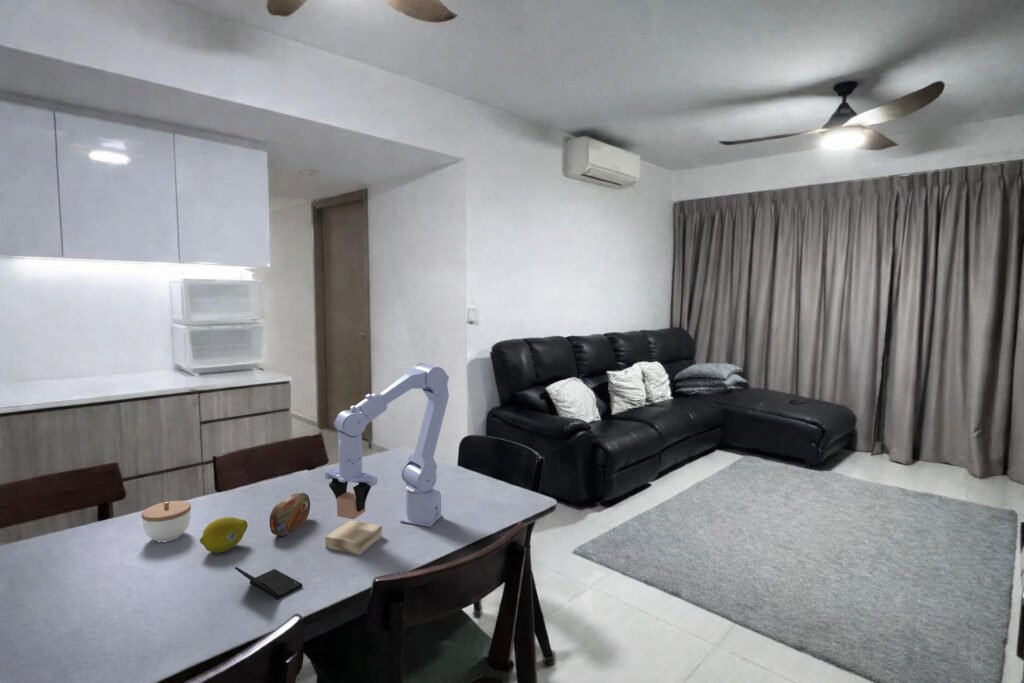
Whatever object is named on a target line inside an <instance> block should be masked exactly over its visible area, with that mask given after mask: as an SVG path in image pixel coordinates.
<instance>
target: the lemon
mask: <svg viewBox="0 0 1024 683" xmlns="http://www.w3.org/2000/svg"><path fill="white" fill-rule="evenodd" d="M247 529H248V522H247V520H245V519H240V518H238V517H234V516H226V517H221V518H217V519H215V520H213V521H211V522H210V523H208V524H207V526H205V528H204V530H203V533H202V536H201V537H200V539H199V543H200V544H201V545H202V546H203V547H204V548H205V550H206V551H208V552H210V553H216V554H217V553H220V554H221V553H224V552H228V551H229V550H231V549H233V548H234V547H235V546H237V545H238V544H239V543H240V541H241V540H242V539H243V537H244V534H245V533H246V531H247Z"/></svg>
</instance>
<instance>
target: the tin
mask: <svg viewBox="0 0 1024 683" xmlns="http://www.w3.org/2000/svg"><path fill="white" fill-rule="evenodd" d="M310 511H311V500H310V496H309V495H308V494H307V493H306V492H301V493H299V492H296V493H295V492H294V493H292V494H291V495H290V496H287V498H285V499H284V500H282V501H280V502H279V503H277V504H276V505H275V506H274V507H273V508H272V510H271V512H270V515H269V529H270V532H271V533H272V534H273V535H274V536H281V537H286V536H288V535H290V534H291V533H292V532H294V531H295V530H296V529H298V528H299V527H300V526H301V525H302V524H304V523H305V522H306V520H307V519H308V518H309V517H308V516H309V514H310ZM295 528H296V529H295ZM290 532H291V533H290ZM287 534H288V535H287Z"/></svg>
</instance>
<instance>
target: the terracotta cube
mask: <svg viewBox="0 0 1024 683" xmlns="http://www.w3.org/2000/svg"><path fill="white" fill-rule="evenodd" d="M364 513H366V505H365V506H364V509H363V510H362V511H360V512H357V506H356V496H355V492H354V490H347V492H346V493H344V494H342V495H340V496H339V497H337V500H336V514H337V515H336V517H339V518H345V519H348V520H356V518H359V517H360V516H361V515H362V514H364Z"/></svg>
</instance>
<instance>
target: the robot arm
mask: <svg viewBox="0 0 1024 683" xmlns="http://www.w3.org/2000/svg"><path fill="white" fill-rule="evenodd" d="M449 377H450V376H449V375H448V374H447V373H446V370H444V368H442V367H440V366H434V365H429V364H426V363H422V362H421V363H417V364H415V365H414V366H413V367H411V368H408V369H407V371H406V373H405V374H403V375H402V376H400V378H398V379H397V380H396V381H395V382H393V383H392V384H390V385H389V386H388V387H387V388H386V389H384V390H383V391H381V392H380V393H377V392H376V393H375V392H372V393H371V394H370V393H367V394H366V395H365V396H364V397H365V398H364V399H363V400H360V401H359V402H358V403H357V404H355V405H351V406H350V407H349V408H350V409H344V410H343V411H340V412H339V413H338V414H337V416H336V417H335V419H334V420H335V421H334V422H333V425H334V428H335V429H336V430H337V432H338V433H337V434H338V435H337V437H338V438H337V439H338V444H337V445H338V469H328V470H326V471H324V479H325V480H331V482H329V483H328V487H329V488H330V490H331V491H332V493H333V495H334V497H335V500H336V501H337V497H339V496H340V495H342V494H344V493H346V492H347V491H348V490H347V489H348V483H356V484H357V485H355V486H353V487H352V490H353V491H354V492H355V496H356V506H357V512H360V511H362V510H363V509H364V506H365V507H366V501H367V498H368V495H369V492H370V490H371V489H372V487H374V486H376V485H377V484H378V476H376V475H371V474H369V473H366V472H363V456H362V455H363V450H362V449H363V446H362V445H363V444H362V442H363V441H362V440H363V439H362V433H364V432H365V430H366V427H367V425H368V424H370V423H371V422H373V420H375V419H377V418H378V417H380V415H382V414H383V413H385V412H386V411H387V408H388V404H390V403H392V402H393V401H395V400H396V399H397V398H399V397H401V396H402V395H404V394H406V393H407V392H409V391H411V390H412V389H418V390H419V389H422V391H423V392H424V393H425V396H426V397H427V403H426V407H425V411H424V415H423V418H422V423H421V425H420V426H421V427H420V430H419V434H418V438H417V441H416V446H415V449H414V452H413V453H412V454H410V455H409V456H408V458H407V461H406V463H405V465H404V466H403V468H402V470H401V479H402V480H403V481H404V483H405V498H406V499H405V501H406V502H405V505H406V506H405V510H406V512H405V515H404V516H403V517H402V518H401V519H400V520H399V522H401V523H406V524H411V525H417V526H423V527H428V528H429V527H430V528H431V527H432V526H433V525H434V524H435V523H436V522H437V521H438V520H439V519H441V517H442V516H443V514H442V494H441V492H440V490H437V489H435V485H436V483H437V467H438V465H437V463H436V460H435V458H434V455H435V452H436V449H437V443H438V442H439V436H440V432H441V428H442V425H443V420H444V417H445V414H446V409H447V405H448V401H449V396H450V394H449V388H448V382H449Z"/></svg>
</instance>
